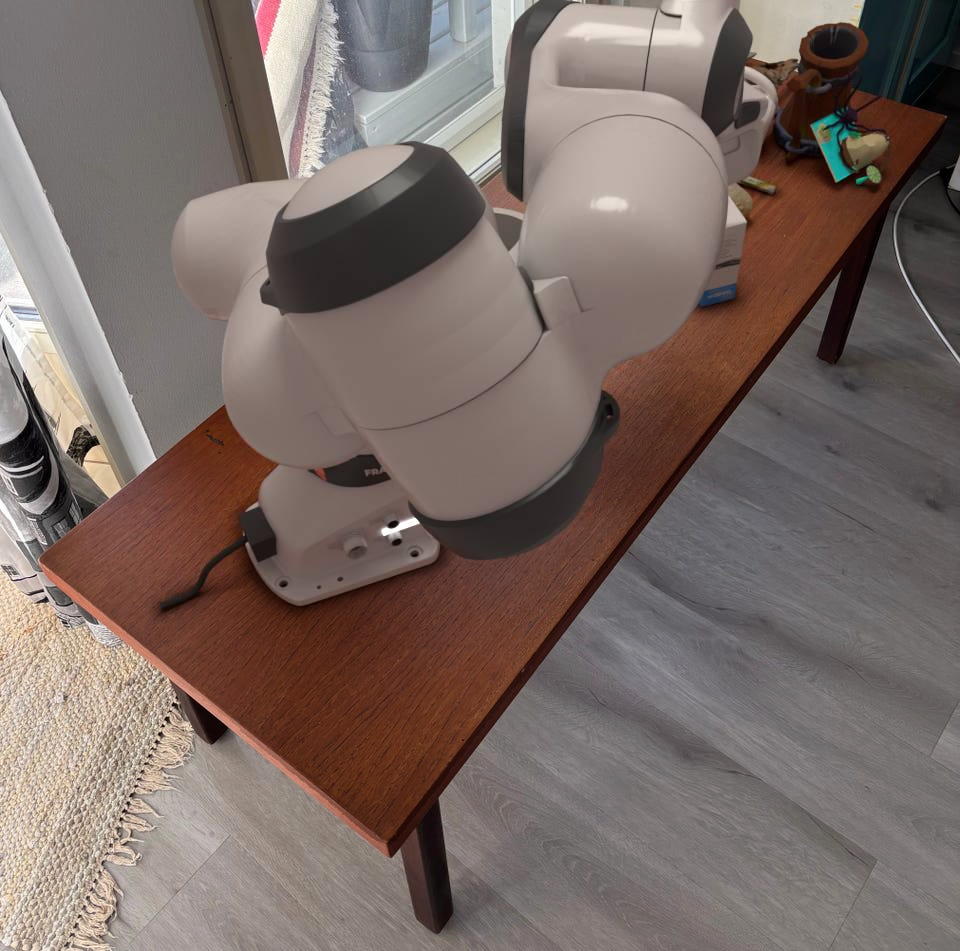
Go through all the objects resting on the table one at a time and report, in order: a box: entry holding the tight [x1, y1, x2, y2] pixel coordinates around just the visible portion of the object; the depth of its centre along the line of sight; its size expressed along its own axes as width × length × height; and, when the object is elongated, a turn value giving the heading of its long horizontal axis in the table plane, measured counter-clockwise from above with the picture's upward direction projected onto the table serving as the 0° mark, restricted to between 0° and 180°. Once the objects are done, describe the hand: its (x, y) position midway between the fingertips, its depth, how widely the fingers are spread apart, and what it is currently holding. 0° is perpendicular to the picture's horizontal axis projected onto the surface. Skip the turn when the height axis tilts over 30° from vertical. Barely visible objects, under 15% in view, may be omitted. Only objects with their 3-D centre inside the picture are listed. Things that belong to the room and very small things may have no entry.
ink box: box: [698, 195, 748, 308], centre depth 119 cm, size 9×5×12 cm, turn 14°
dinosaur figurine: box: [744, 58, 799, 115], centre depth 147 cm, size 14×6×9 cm
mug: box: [772, 21, 870, 163], centre depth 135 cm, size 18×12×15 cm, turn 143°
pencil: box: [739, 176, 777, 195], centre depth 137 cm, size 1×1×18 cm
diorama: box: [810, 73, 892, 186], centre depth 133 cm, size 11×15×6 cm
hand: (657, 241), depth 97 cm, fingers closed on fruit, 7 cm apart
